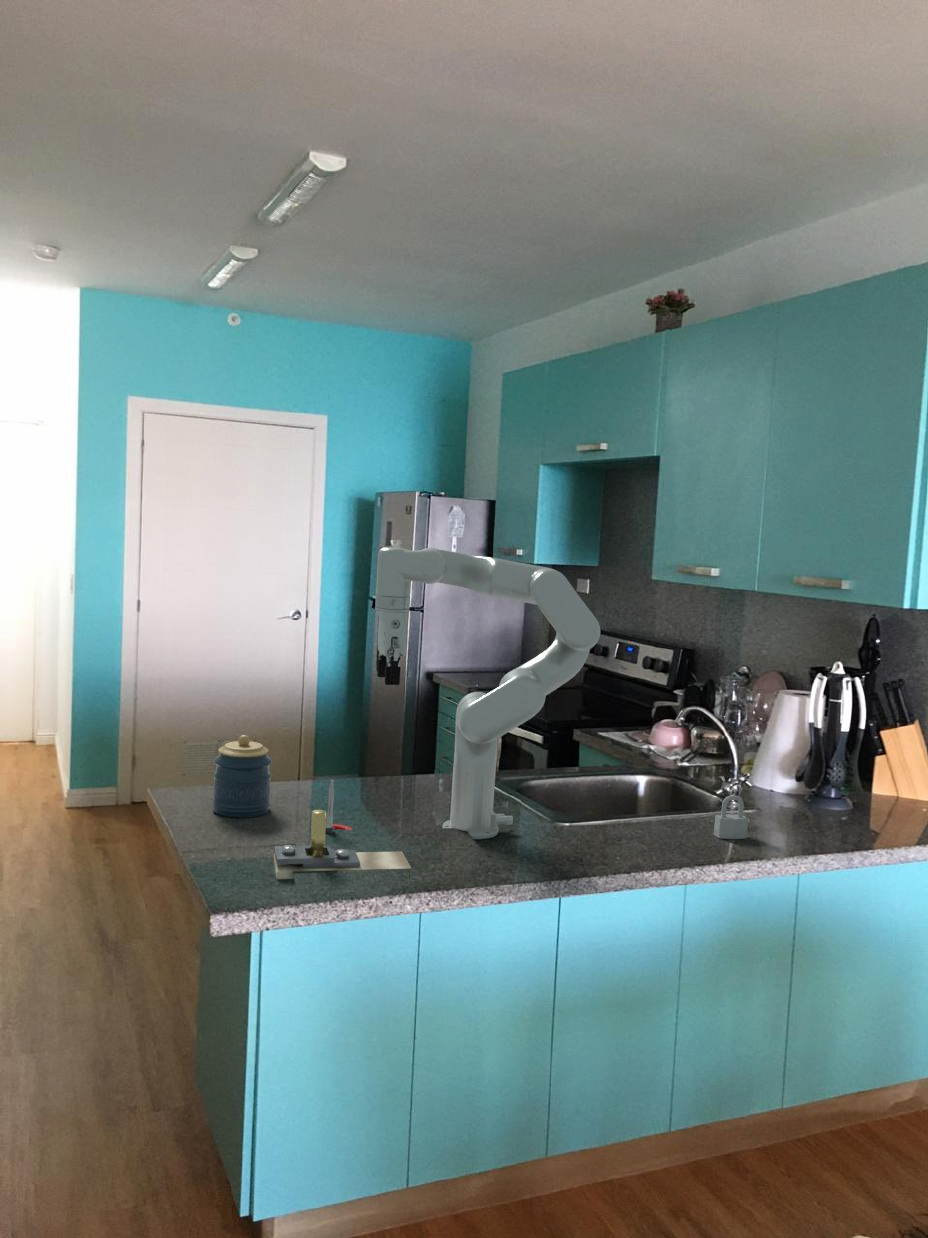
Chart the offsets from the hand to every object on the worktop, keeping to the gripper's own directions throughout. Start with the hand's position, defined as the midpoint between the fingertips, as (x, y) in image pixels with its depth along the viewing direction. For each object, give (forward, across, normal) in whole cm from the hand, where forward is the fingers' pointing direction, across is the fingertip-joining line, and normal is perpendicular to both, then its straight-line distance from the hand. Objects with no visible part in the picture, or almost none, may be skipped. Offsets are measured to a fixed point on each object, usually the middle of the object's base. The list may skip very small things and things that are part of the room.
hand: (388, 680), depth 229 cm
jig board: (+33, -26, +12) cm, 44 cm away
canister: (+34, +14, +30) cm, 47 cm away
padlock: (+34, -11, -81) cm, 88 cm away
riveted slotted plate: (+32, -26, +17) cm, 44 cm away
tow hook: (+34, -4, +11) cm, 36 cm away
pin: (+32, -26, +17) cm, 44 cm away
